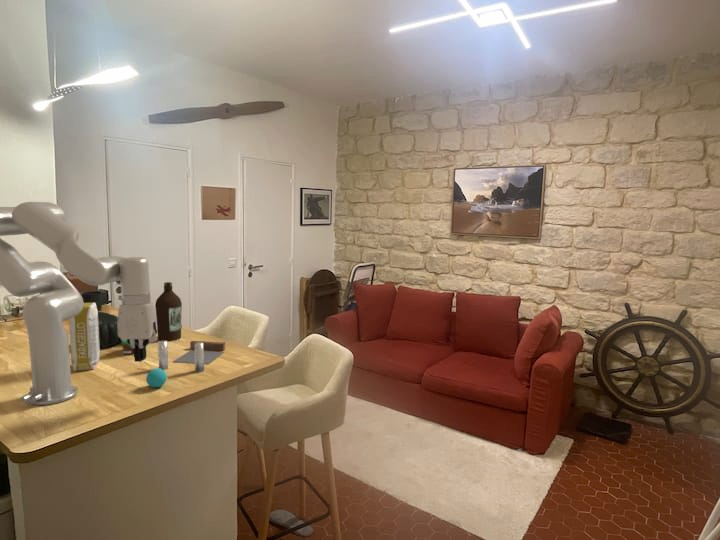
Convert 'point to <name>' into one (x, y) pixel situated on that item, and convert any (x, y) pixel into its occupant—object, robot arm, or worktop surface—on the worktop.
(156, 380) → the ball
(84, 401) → the worktop surface
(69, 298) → the robot arm
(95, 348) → the juice carton
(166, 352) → the post left
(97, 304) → the pen holder
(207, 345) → the stopper wall
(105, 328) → the squash
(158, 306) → the olive oil
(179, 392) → the worktop surface
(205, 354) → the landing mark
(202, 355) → the post right
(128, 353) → the food container
